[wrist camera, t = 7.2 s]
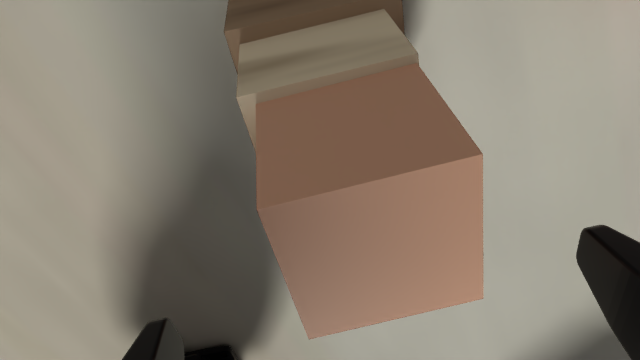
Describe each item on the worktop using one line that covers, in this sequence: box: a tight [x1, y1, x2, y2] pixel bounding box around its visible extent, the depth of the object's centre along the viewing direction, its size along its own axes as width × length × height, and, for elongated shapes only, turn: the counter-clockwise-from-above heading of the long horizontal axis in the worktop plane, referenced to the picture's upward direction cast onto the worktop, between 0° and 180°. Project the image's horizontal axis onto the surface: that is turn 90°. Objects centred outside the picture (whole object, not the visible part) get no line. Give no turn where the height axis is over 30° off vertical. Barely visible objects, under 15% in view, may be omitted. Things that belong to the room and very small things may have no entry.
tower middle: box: [236, 9, 419, 152], centre depth 16 cm, size 5×5×4 cm
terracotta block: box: [256, 63, 483, 339], centre depth 12 cm, size 4×4×4 cm
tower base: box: [224, 0, 405, 74], centre depth 19 cm, size 6×6×4 cm
